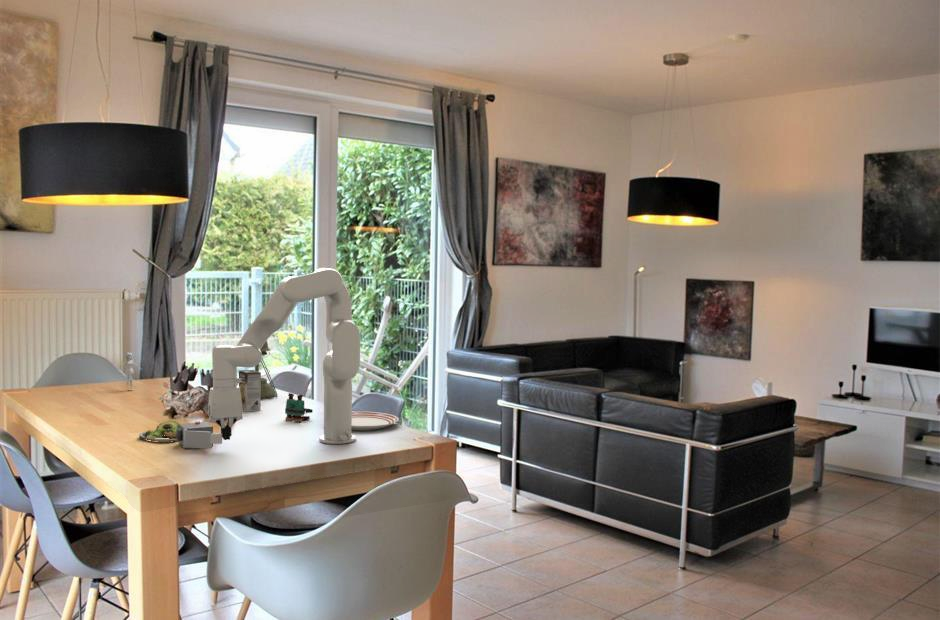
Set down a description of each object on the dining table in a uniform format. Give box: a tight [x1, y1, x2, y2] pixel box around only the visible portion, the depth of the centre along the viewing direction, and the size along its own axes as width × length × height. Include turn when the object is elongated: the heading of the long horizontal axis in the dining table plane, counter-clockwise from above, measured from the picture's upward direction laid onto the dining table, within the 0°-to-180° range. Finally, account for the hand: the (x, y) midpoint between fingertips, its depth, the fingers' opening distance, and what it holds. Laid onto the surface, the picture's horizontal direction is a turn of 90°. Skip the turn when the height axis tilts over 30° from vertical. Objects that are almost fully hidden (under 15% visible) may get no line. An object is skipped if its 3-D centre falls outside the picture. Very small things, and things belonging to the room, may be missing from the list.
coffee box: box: [238, 369, 262, 412], centre depth 320 cm, size 9×6×16 cm
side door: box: [183, 429, 223, 450], centre depth 249 cm, size 1×13×6 cm, turn 82°
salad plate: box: [138, 420, 180, 443], centre depth 266 cm, size 19×18×5 cm
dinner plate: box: [352, 411, 400, 431], centre depth 292 cm, size 27×27×3 cm
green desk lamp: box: [254, 340, 278, 401], centre depth 351 cm, size 21×18×30 cm
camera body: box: [176, 421, 214, 448], centre depth 256 cm, size 9×10×7 cm
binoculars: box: [284, 392, 314, 423], centre depth 301 cm, size 9×11×10 cm
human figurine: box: [115, 352, 143, 389], centre depth 362 cm, size 12×4×18 cm, turn 134°
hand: (226, 438), depth 250 cm, fingers closed
